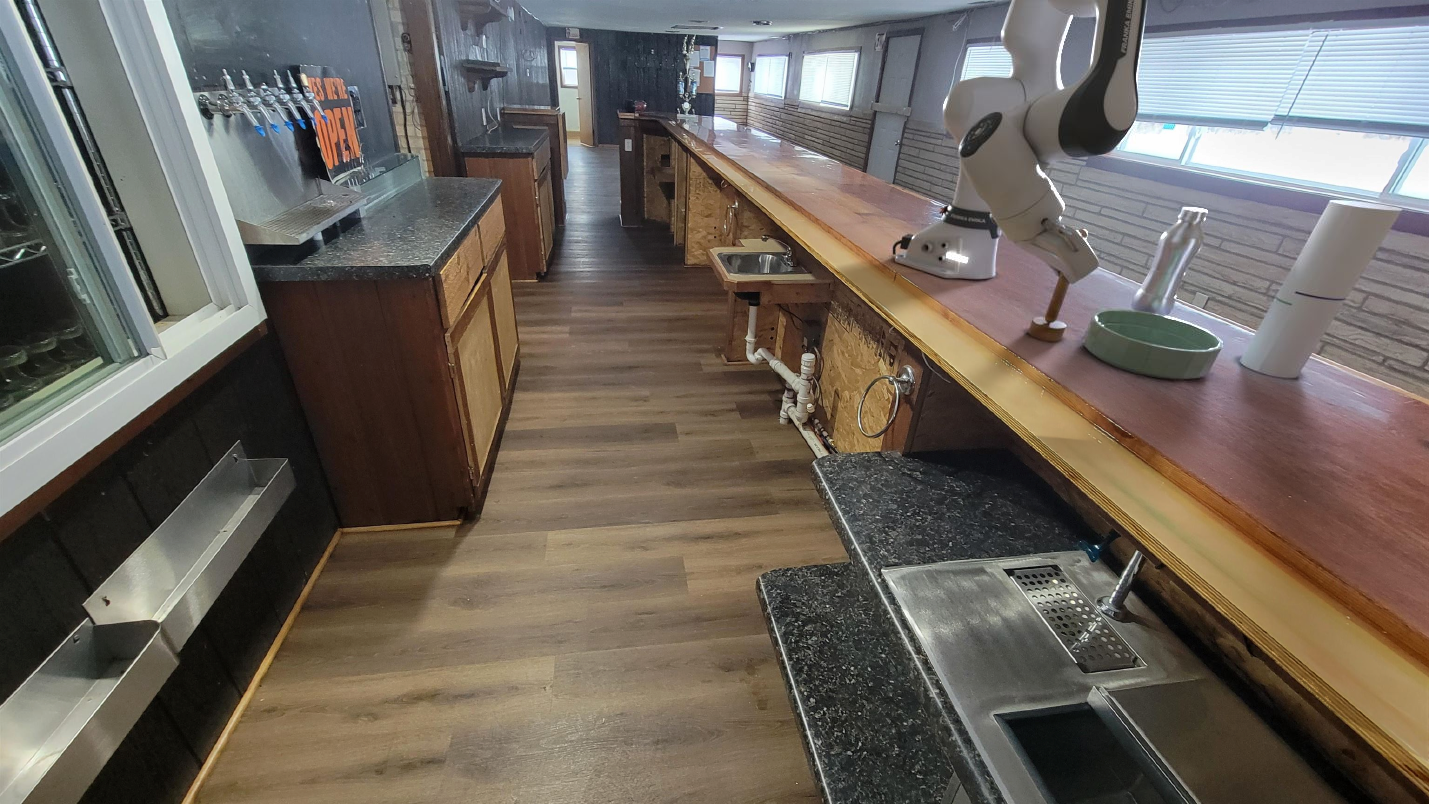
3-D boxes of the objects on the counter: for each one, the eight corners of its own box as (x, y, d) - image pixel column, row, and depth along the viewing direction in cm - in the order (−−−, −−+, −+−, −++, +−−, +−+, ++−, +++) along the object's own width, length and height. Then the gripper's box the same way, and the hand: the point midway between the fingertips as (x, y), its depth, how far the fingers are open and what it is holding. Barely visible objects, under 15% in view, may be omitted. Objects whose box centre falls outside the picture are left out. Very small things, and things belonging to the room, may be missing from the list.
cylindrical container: (1285, 381, 86) (1390, 211, 73) (1231, 362, 91) (1320, 201, 79) (1306, 373, 89) (1411, 208, 76) (1252, 355, 94) (1342, 199, 82)
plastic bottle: (1154, 311, 111) (1202, 206, 102) (1174, 324, 106) (1227, 214, 96) (1120, 309, 112) (1164, 204, 102) (1139, 321, 106) (1188, 211, 96)
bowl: (1067, 354, 91) (1078, 325, 89) (1097, 328, 102) (1108, 302, 99) (1197, 393, 81) (1213, 362, 78) (1215, 360, 92) (1230, 331, 89)
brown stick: (1023, 334, 98) (1059, 228, 89) (1034, 327, 101) (1070, 223, 92) (1055, 344, 95) (1096, 234, 86) (1065, 336, 98) (1105, 230, 89)
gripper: (1086, 213, 78) (1127, 284, 83) (1018, 188, 95) (1055, 248, 100) (1044, 244, 80) (1086, 312, 85) (984, 214, 98) (1022, 271, 103)
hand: (1069, 277), depth 93 cm, fingers closed on brown stick
